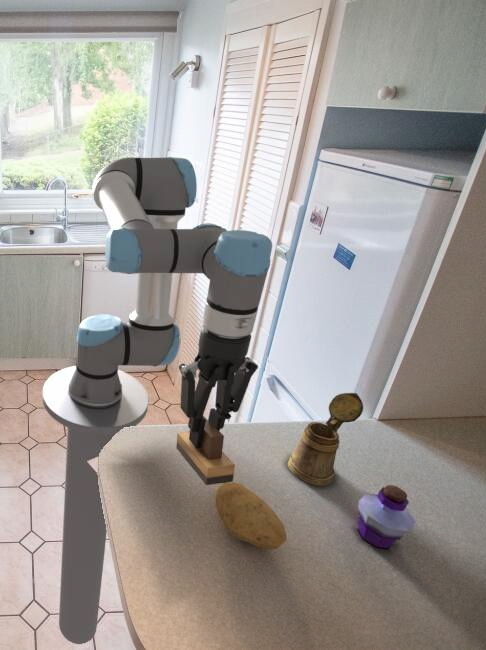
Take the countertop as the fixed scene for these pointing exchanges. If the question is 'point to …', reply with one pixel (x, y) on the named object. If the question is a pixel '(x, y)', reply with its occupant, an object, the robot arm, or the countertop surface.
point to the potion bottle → (384, 517)
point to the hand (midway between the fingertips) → (202, 442)
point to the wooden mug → (324, 441)
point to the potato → (249, 516)
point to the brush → (207, 456)
